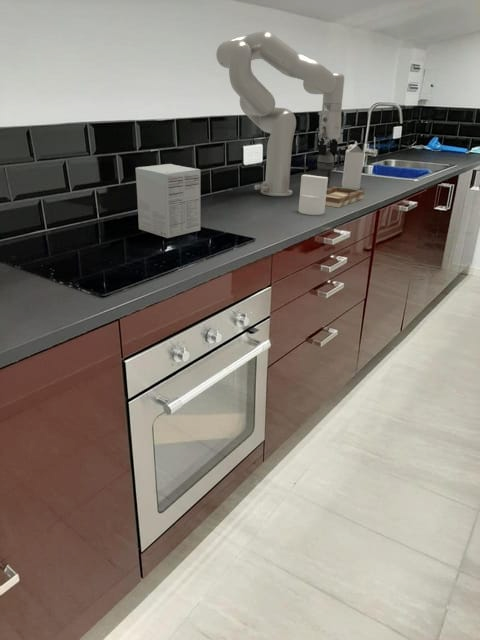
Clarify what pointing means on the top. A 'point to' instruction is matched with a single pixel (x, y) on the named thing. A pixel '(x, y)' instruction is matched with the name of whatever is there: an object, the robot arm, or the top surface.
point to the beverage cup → (325, 166)
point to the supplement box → (168, 199)
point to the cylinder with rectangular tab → (312, 194)
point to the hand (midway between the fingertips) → (327, 153)
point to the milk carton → (353, 167)
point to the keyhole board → (342, 196)
